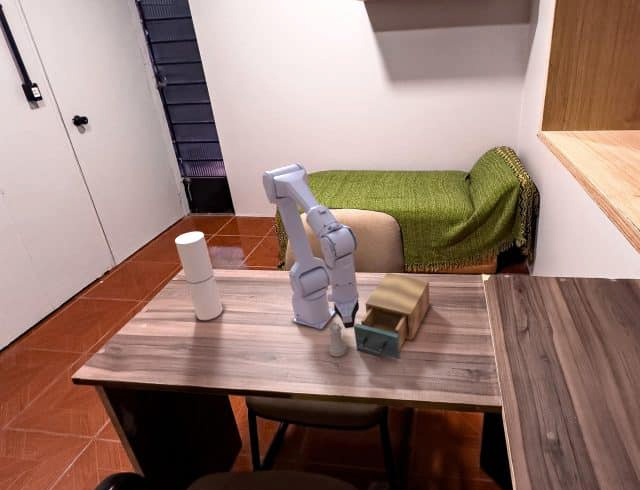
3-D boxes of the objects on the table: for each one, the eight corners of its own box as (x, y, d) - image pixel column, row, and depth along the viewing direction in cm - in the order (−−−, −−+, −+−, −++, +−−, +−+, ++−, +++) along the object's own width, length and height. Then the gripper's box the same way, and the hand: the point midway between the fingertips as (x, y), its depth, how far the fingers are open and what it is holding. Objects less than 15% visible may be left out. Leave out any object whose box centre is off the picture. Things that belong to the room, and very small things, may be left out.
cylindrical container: (191, 318, 113) (168, 242, 104) (207, 303, 120) (187, 230, 110) (212, 321, 112) (191, 244, 102) (227, 306, 118) (209, 232, 108)
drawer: (391, 372, 90) (389, 350, 87) (348, 359, 95) (345, 337, 92) (417, 322, 105) (416, 302, 102) (378, 313, 109) (376, 293, 106)
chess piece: (344, 358, 96) (340, 333, 93) (327, 356, 97) (322, 331, 94) (349, 345, 100) (345, 320, 97) (332, 343, 101) (328, 319, 98)
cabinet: (412, 340, 100) (410, 313, 97) (368, 328, 105) (365, 303, 101) (429, 305, 112) (428, 280, 108) (389, 296, 117) (387, 272, 113)
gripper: (325, 263, 93) (332, 308, 99) (324, 301, 80) (332, 350, 86) (354, 259, 94) (359, 304, 100) (358, 296, 81) (364, 346, 87)
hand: (349, 325), depth 93 cm, fingers closed
